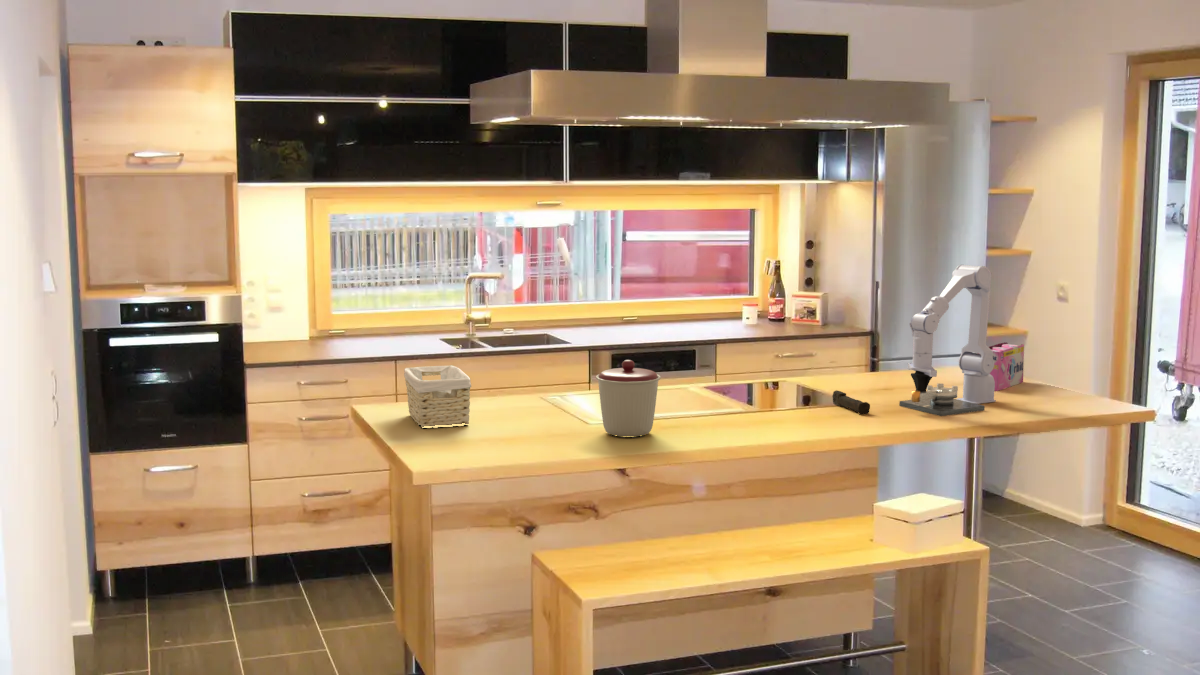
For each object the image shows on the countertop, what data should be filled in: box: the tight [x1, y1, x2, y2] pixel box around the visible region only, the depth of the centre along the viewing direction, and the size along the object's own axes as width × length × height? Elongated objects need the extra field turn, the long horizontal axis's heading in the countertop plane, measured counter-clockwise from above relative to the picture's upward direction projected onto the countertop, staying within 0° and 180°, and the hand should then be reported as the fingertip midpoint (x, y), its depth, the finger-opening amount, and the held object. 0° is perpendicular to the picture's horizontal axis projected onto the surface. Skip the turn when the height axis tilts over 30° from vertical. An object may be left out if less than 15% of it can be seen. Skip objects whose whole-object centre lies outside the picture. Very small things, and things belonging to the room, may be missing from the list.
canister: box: [595, 359, 662, 437], centre depth 327 cm, size 18×18×21 cm
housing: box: [898, 398, 986, 417], centre depth 364 cm, size 18×18×4 cm
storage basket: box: [403, 364, 472, 428], centre depth 345 cm, size 24×16×15 cm
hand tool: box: [832, 389, 871, 416], centre depth 364 cm, size 19×4×5 cm, turn 16°
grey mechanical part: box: [911, 382, 959, 402], centre depth 361 cm, size 19×9×4 cm, turn 128°
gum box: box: [977, 342, 1025, 392], centre depth 403 cm, size 24×8×14 cm, turn 139°
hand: (920, 396), depth 361 cm, fingers closed
